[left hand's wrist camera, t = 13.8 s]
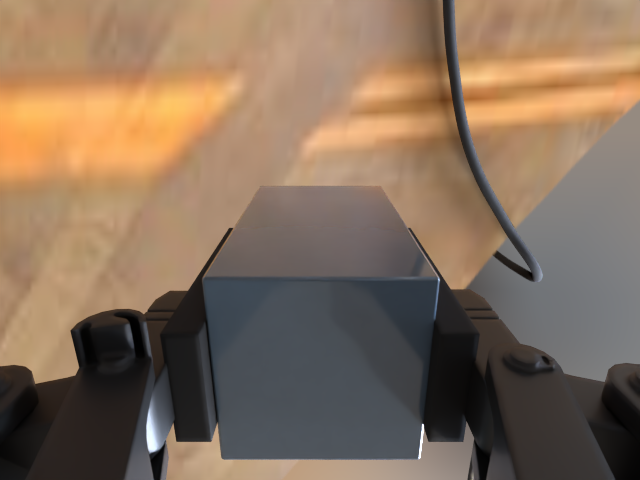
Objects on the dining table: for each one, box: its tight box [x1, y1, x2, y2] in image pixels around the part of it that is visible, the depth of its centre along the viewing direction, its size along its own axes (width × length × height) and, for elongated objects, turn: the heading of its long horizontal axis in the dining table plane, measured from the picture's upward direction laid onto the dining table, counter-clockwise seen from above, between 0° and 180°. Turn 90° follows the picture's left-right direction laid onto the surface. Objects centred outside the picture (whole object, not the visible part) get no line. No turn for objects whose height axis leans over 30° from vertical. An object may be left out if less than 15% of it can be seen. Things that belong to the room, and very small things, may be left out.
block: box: [202, 186, 440, 460], centre depth 13 cm, size 5×5×8 cm
